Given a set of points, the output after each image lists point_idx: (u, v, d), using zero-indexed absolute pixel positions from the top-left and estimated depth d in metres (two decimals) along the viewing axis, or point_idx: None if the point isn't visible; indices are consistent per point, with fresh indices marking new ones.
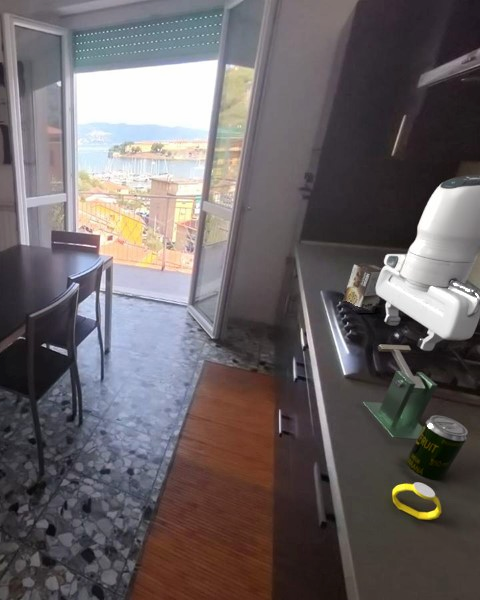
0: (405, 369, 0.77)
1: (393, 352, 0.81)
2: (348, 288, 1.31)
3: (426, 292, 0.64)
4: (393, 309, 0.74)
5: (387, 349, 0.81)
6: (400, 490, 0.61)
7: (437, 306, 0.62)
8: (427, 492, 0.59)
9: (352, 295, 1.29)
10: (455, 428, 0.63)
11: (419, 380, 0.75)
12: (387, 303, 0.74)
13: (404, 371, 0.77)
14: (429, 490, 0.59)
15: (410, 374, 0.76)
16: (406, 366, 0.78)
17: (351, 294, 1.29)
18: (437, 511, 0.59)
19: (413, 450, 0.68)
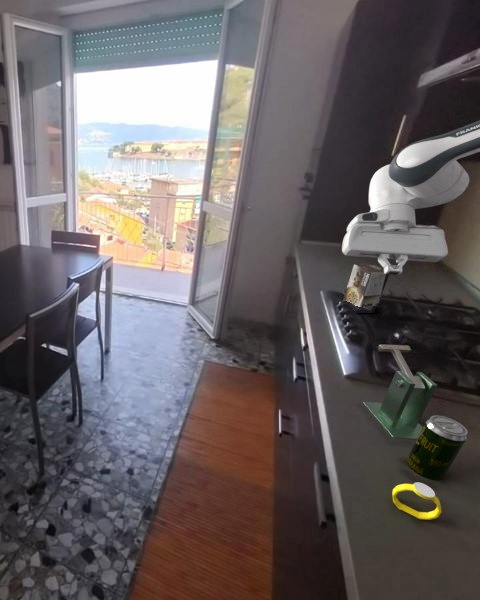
0: (405, 369, 0.77)
1: (393, 352, 0.81)
2: (348, 288, 1.31)
3: (408, 232, 0.86)
4: None
5: (387, 349, 0.81)
6: (400, 490, 0.61)
7: (422, 239, 0.85)
8: (427, 492, 0.59)
9: (352, 295, 1.29)
10: (455, 428, 0.63)
11: (419, 380, 0.75)
12: (384, 255, 0.86)
13: (404, 371, 0.77)
14: (429, 490, 0.59)
15: (410, 374, 0.76)
16: (406, 366, 0.78)
17: (351, 294, 1.29)
18: (437, 511, 0.59)
19: (413, 450, 0.68)
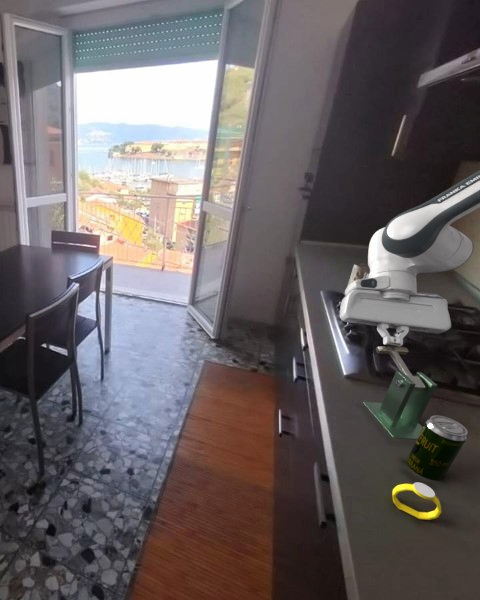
0: (404, 370, 0.77)
1: (391, 354, 0.81)
2: None
3: (409, 301, 0.82)
4: None
5: (385, 351, 0.81)
6: (400, 490, 0.61)
7: (424, 309, 0.81)
8: (427, 492, 0.59)
9: None
10: (455, 428, 0.63)
11: (419, 380, 0.75)
12: (383, 325, 0.82)
13: (403, 372, 0.77)
14: (429, 490, 0.59)
15: (409, 374, 0.77)
16: (405, 367, 0.78)
17: None
18: (437, 511, 0.59)
19: (413, 450, 0.68)
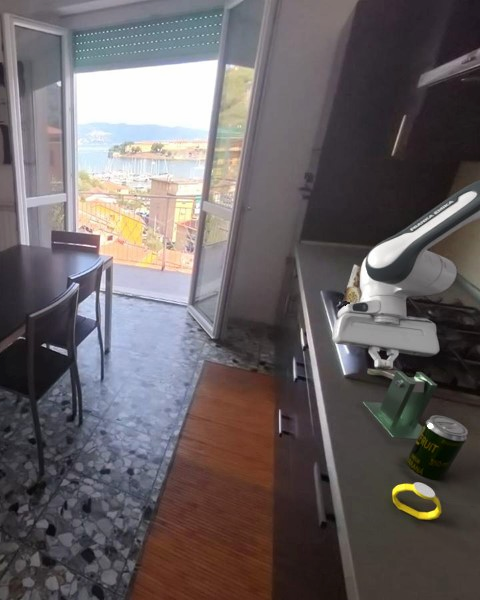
0: None
1: (383, 373, 0.83)
2: (348, 288, 1.31)
3: (399, 325, 0.85)
4: None
5: (376, 371, 0.84)
6: (400, 490, 0.61)
7: (413, 333, 0.84)
8: (427, 492, 0.59)
9: (352, 295, 1.29)
10: (455, 428, 0.63)
11: (415, 378, 0.76)
12: (374, 348, 0.85)
13: None
14: (429, 490, 0.59)
15: None
16: None
17: (351, 294, 1.29)
18: (437, 511, 0.59)
19: (413, 450, 0.68)
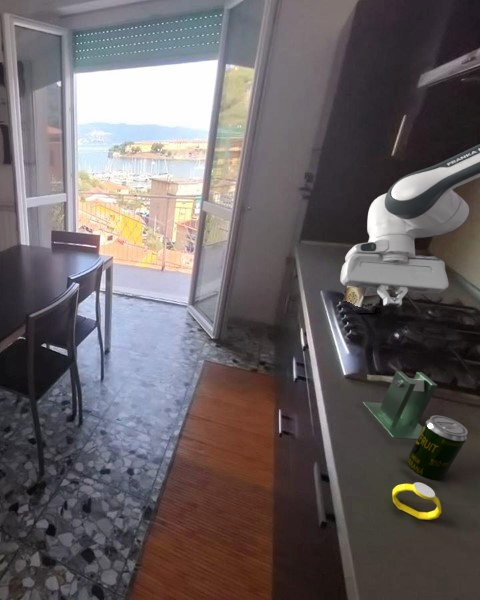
0: None
1: (383, 378, 0.83)
2: (348, 288, 1.31)
3: (408, 263, 0.85)
4: None
5: (376, 376, 0.84)
6: (400, 490, 0.61)
7: (422, 270, 0.83)
8: (427, 492, 0.59)
9: (352, 295, 1.29)
10: (455, 428, 0.63)
11: None
12: (383, 287, 0.85)
13: None
14: (429, 490, 0.59)
15: None
16: None
17: (351, 294, 1.29)
18: (437, 511, 0.59)
19: (413, 450, 0.68)
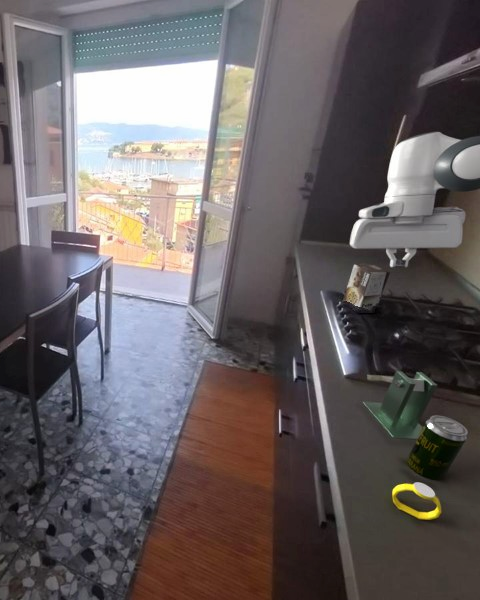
0: None
1: (383, 378, 0.83)
2: (348, 288, 1.31)
3: (422, 223, 0.82)
4: None
5: (376, 376, 0.84)
6: (400, 490, 0.61)
7: (436, 229, 0.81)
8: (427, 492, 0.59)
9: (352, 295, 1.29)
10: (455, 428, 0.63)
11: None
12: (391, 250, 0.86)
13: None
14: (429, 490, 0.59)
15: None
16: None
17: (351, 294, 1.29)
18: (437, 511, 0.59)
19: (413, 450, 0.68)
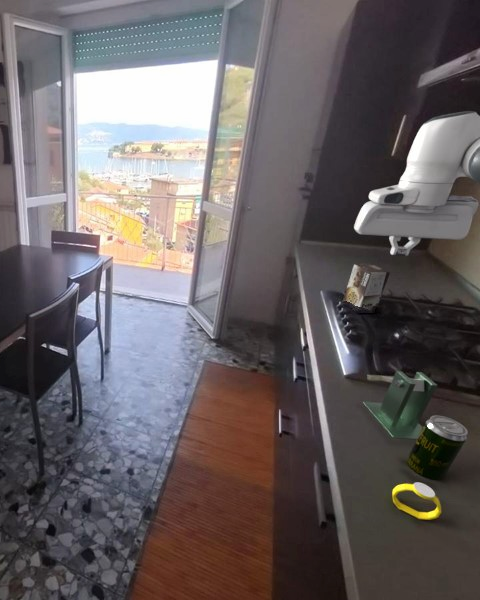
0: None
1: (383, 378, 0.83)
2: (348, 288, 1.31)
3: (433, 212, 0.78)
4: None
5: (376, 376, 0.84)
6: (400, 490, 0.61)
7: (446, 219, 0.78)
8: (427, 492, 0.59)
9: (352, 295, 1.29)
10: (455, 428, 0.63)
11: None
12: (395, 238, 0.82)
13: None
14: (429, 490, 0.59)
15: None
16: None
17: (351, 294, 1.29)
18: (437, 511, 0.59)
19: (413, 450, 0.68)
